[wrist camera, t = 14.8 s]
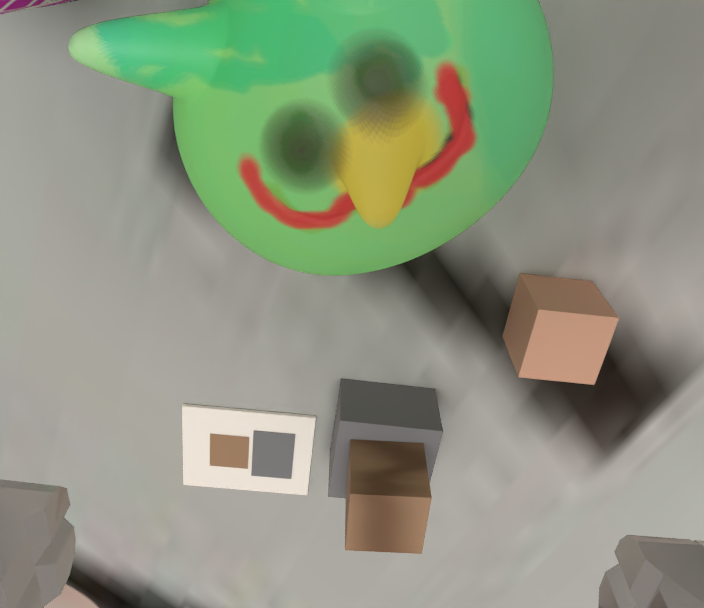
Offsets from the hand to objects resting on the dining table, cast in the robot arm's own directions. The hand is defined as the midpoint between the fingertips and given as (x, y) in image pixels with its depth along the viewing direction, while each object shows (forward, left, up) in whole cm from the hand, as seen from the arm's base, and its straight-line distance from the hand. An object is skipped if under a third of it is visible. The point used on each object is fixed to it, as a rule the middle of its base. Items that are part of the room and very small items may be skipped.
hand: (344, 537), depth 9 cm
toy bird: (0, -2, -32) cm, 32 cm away
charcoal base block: (-5, +23, -32) cm, 40 cm away
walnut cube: (-5, +24, -27) cm, 36 cm away
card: (+5, +27, -32) cm, 42 cm away
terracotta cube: (-15, +12, -32) cm, 37 cm away
